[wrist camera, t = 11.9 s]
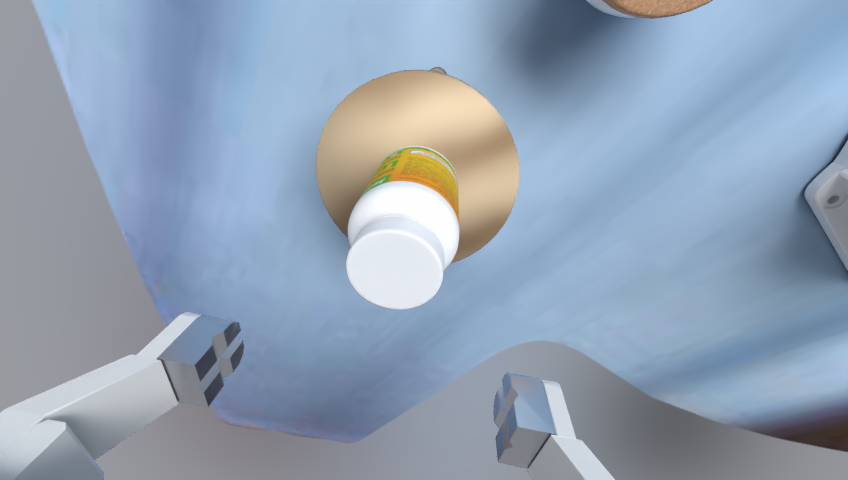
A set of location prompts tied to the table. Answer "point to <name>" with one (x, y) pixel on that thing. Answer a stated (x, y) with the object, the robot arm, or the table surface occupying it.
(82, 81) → the table surface
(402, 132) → the stool
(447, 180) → the supplement bottle
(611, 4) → the lidded jar
